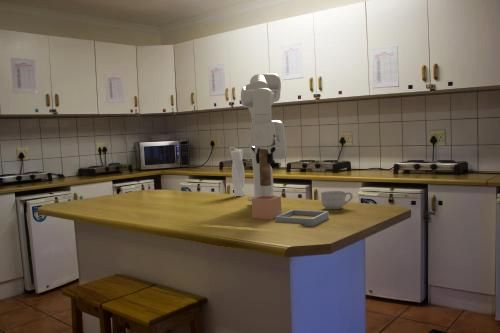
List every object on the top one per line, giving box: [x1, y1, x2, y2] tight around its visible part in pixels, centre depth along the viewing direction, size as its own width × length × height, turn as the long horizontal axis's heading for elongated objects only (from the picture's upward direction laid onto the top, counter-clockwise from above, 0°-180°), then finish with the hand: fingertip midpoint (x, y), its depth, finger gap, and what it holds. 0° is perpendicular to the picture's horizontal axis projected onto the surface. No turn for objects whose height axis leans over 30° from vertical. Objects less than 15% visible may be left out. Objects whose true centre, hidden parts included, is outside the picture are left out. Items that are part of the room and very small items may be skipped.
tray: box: [274, 209, 330, 227], centre depth 189 cm, size 16×16×3 cm
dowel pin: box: [259, 149, 271, 186], centre depth 196 cm, size 4×4×15 cm
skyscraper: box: [229, 146, 246, 198], centre depth 266 cm, size 8×8×28 cm
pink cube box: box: [251, 195, 283, 220], centre depth 197 cm, size 9×9×9 cm
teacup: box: [320, 190, 354, 210], centre depth 212 cm, size 14×11×8 cm
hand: (264, 162), depth 196 cm, fingers closed on dowel pin, 4 cm apart
